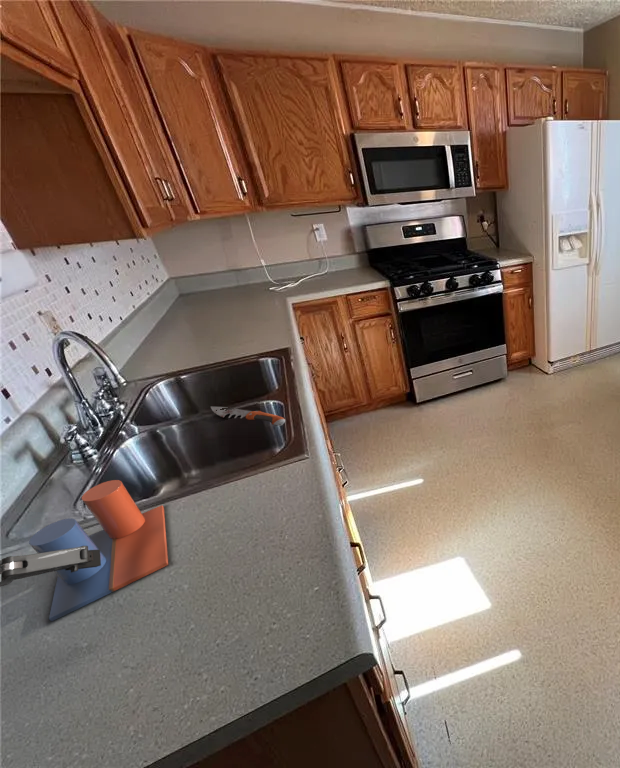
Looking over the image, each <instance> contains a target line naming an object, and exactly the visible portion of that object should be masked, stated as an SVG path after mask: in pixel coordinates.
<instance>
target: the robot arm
mask: <svg viewBox="0 0 620 768" xmlns="http://www.w3.org/2000/svg"><path fill="white" fill-rule="evenodd" d="M98 566H101V558H100V549H99V550H88V546H81V547H76V548H69V549H63V550H57V551H50V552H44V553H37V552H36V553H32V554H26V555H25V554H24V555H15V556H12V555H9V556H6V557H3V558H2V559H0V575H1V576H0V587H1V588H2V587H5V586H8V585H10V584H11V583H12V582H13V581H17V580H21V579H25V578H29V577H36V576H38V575H44V574H47V573H48V574H49V573H53V572H54V571H58V570H62V569H65V571H66V570H71V573H72V572H75V571H78V569H83V568H92V567H98Z"/></svg>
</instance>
